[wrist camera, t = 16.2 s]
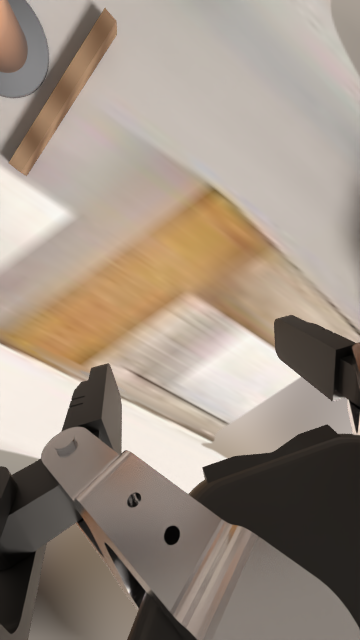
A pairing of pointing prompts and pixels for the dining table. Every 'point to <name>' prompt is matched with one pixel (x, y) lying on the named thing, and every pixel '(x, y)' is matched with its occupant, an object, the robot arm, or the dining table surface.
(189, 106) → the dining table surface
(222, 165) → the dining table surface
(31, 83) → the coaster
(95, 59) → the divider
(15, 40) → the peach cylinder
